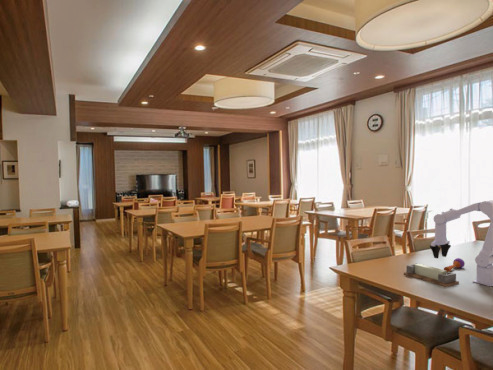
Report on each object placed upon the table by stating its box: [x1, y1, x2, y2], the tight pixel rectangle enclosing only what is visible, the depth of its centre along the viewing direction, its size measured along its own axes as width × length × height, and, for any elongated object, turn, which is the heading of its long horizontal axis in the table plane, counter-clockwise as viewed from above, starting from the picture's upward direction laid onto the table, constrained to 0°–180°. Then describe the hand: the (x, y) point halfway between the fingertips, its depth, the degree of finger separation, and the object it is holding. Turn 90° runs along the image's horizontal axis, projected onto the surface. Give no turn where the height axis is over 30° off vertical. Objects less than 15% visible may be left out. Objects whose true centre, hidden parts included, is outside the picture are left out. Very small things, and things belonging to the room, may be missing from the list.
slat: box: [414, 263, 447, 280], centre depth 186 cm, size 16×4×5 cm, turn 27°
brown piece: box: [443, 257, 466, 272], centre depth 205 cm, size 6×6×20 cm
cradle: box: [403, 263, 460, 288], centre depth 186 cm, size 25×11×5 cm, turn 27°
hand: (440, 257), depth 196 cm, fingers open, 7 cm apart
